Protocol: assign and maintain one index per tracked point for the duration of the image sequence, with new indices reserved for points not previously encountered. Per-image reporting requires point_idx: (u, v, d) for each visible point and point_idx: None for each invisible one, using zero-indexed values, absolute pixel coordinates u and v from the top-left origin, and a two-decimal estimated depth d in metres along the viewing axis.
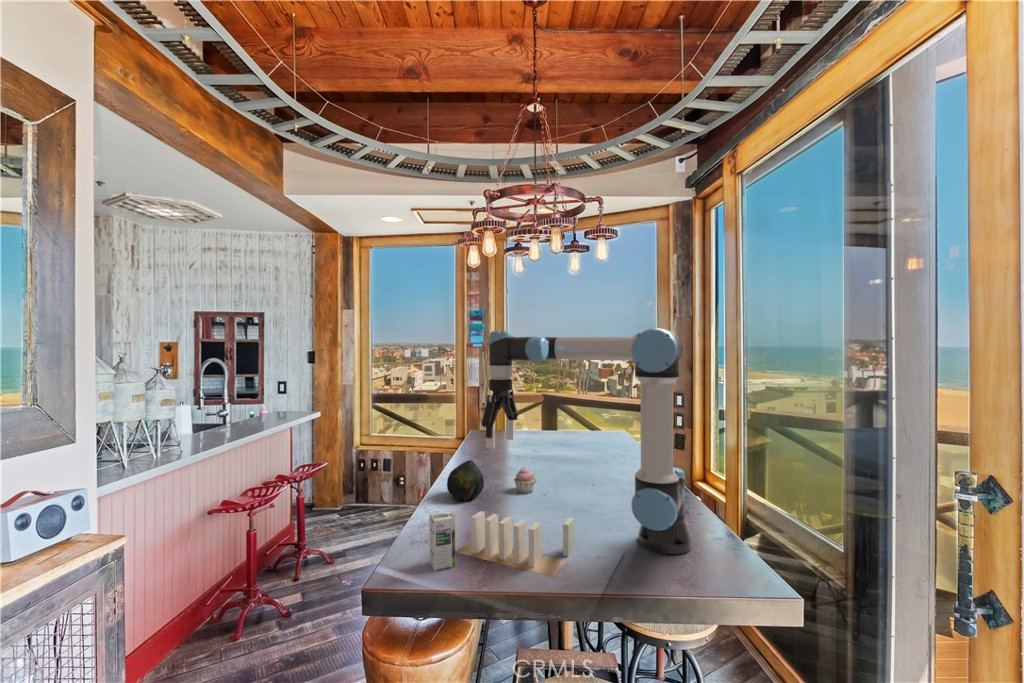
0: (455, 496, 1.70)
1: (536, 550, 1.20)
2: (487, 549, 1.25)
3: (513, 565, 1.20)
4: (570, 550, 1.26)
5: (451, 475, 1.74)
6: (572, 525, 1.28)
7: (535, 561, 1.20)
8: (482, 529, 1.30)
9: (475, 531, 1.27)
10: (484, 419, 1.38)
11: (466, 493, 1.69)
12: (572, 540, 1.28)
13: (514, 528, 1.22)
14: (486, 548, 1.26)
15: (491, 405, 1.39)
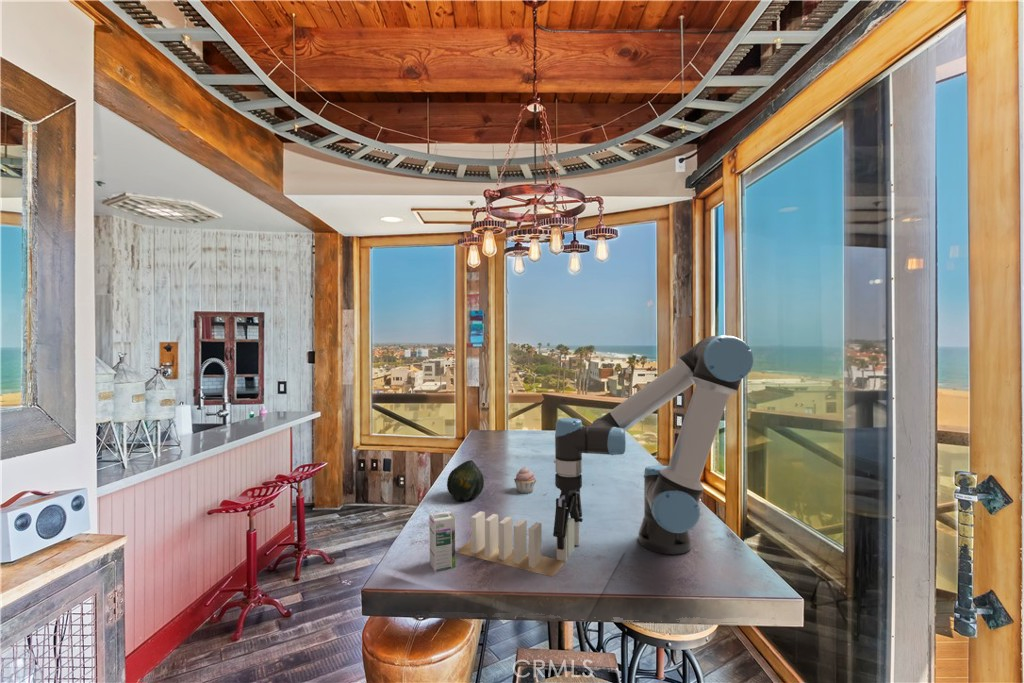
0: (455, 496, 1.70)
1: (536, 550, 1.20)
2: (487, 549, 1.25)
3: (513, 565, 1.20)
4: (570, 550, 1.26)
5: (451, 475, 1.74)
6: (572, 525, 1.28)
7: (535, 561, 1.20)
8: (482, 529, 1.30)
9: (475, 531, 1.27)
10: (556, 529, 1.20)
11: (466, 493, 1.69)
12: (572, 540, 1.28)
13: (514, 528, 1.22)
14: (486, 548, 1.26)
15: (562, 512, 1.21)
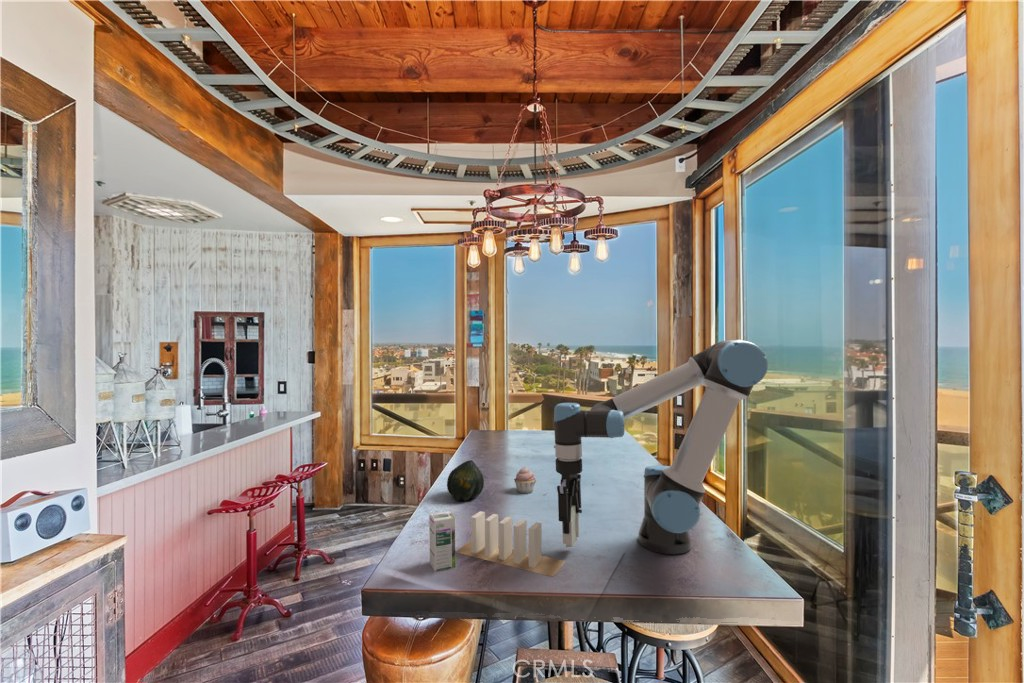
0: (455, 496, 1.70)
1: (536, 550, 1.20)
2: (487, 549, 1.25)
3: (513, 565, 1.20)
4: None
5: (451, 475, 1.74)
6: (573, 511, 1.28)
7: (535, 561, 1.20)
8: (482, 529, 1.30)
9: (475, 531, 1.27)
10: (560, 515, 1.22)
11: (466, 493, 1.69)
12: (574, 527, 1.28)
13: (514, 528, 1.22)
14: (486, 548, 1.26)
15: (564, 498, 1.22)
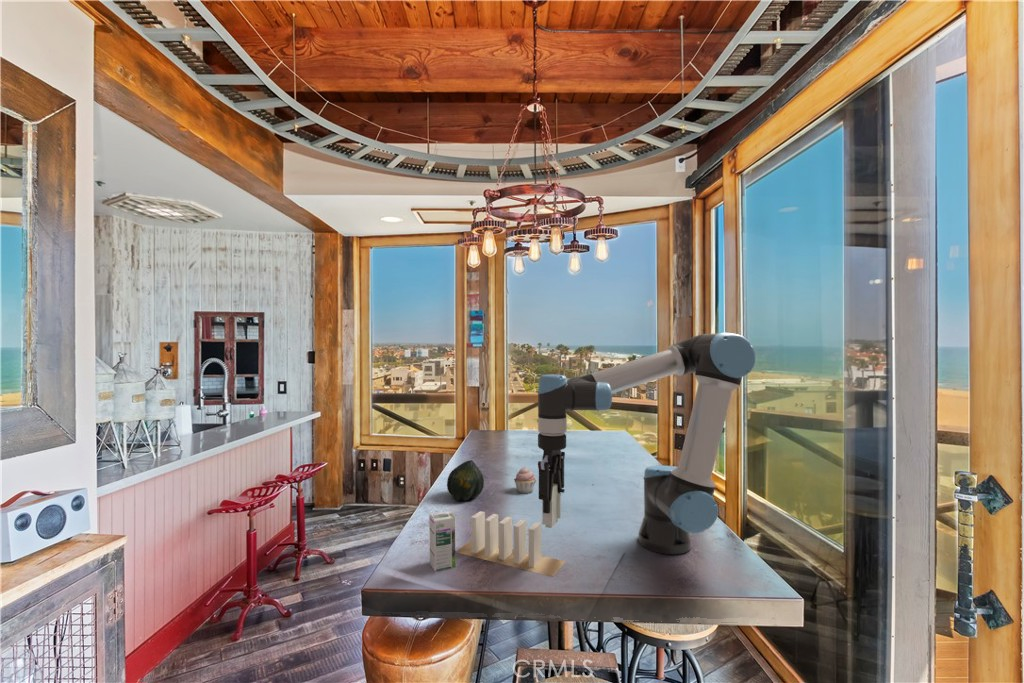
0: (455, 496, 1.70)
1: (536, 550, 1.20)
2: (487, 549, 1.25)
3: (513, 565, 1.20)
4: (553, 517, 1.18)
5: (451, 475, 1.74)
6: (555, 490, 1.20)
7: (535, 561, 1.20)
8: (482, 529, 1.30)
9: (475, 531, 1.27)
10: (540, 492, 1.14)
11: (466, 493, 1.69)
12: (555, 507, 1.20)
13: (514, 528, 1.22)
14: (486, 548, 1.26)
15: (545, 475, 1.14)
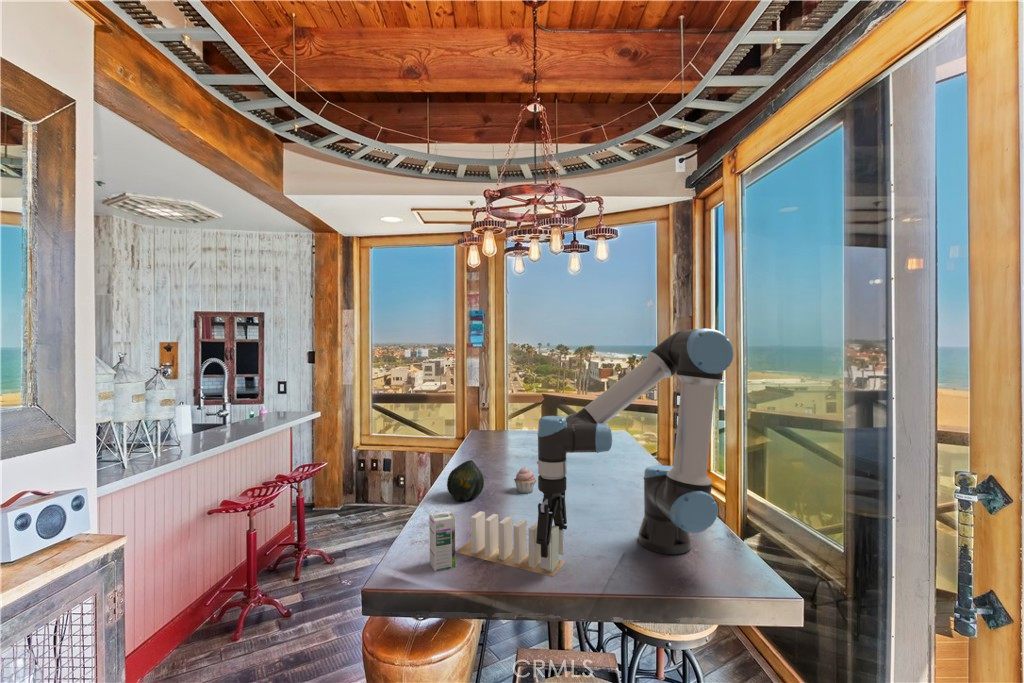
0: (455, 496, 1.70)
1: (536, 550, 1.20)
2: (487, 549, 1.25)
3: (513, 565, 1.20)
4: (553, 561, 1.18)
5: (451, 475, 1.74)
6: (556, 533, 1.20)
7: (535, 561, 1.20)
8: (482, 529, 1.30)
9: (475, 531, 1.27)
10: (539, 536, 1.13)
11: (466, 493, 1.69)
12: (556, 550, 1.20)
13: (514, 528, 1.22)
14: (486, 548, 1.26)
15: (545, 518, 1.13)
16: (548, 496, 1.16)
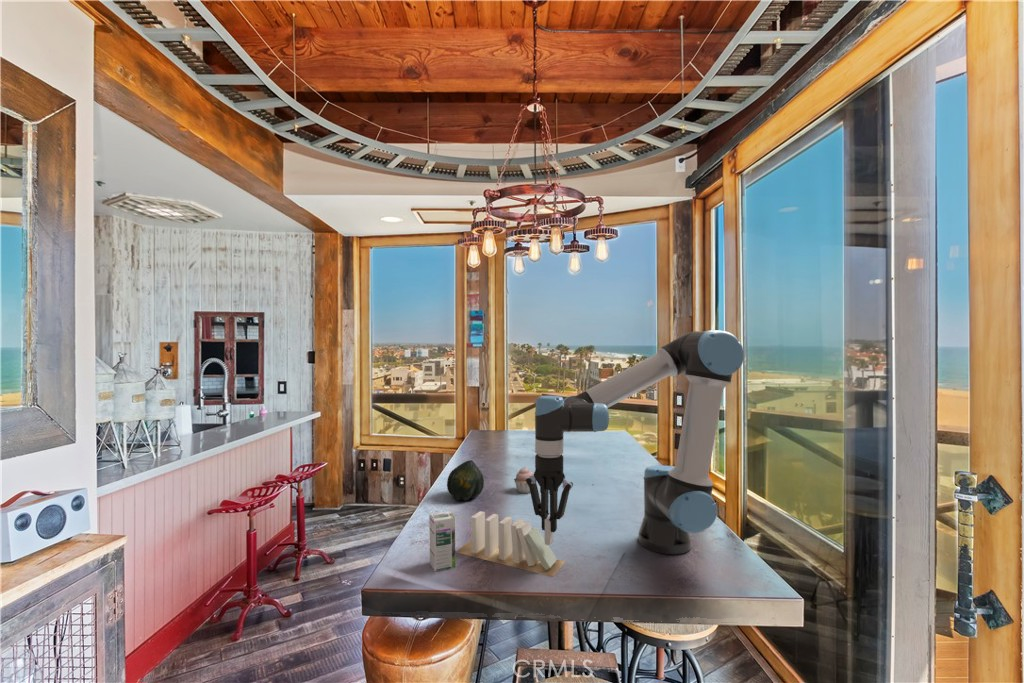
0: (455, 496, 1.70)
1: (530, 547, 1.21)
2: (487, 549, 1.25)
3: (513, 565, 1.20)
4: (547, 557, 1.19)
5: (451, 475, 1.74)
6: (535, 532, 1.22)
7: (533, 559, 1.20)
8: (482, 529, 1.30)
9: (475, 531, 1.27)
10: None
11: (466, 493, 1.69)
12: (546, 547, 1.21)
13: (511, 527, 1.22)
14: (486, 548, 1.26)
15: None
16: None
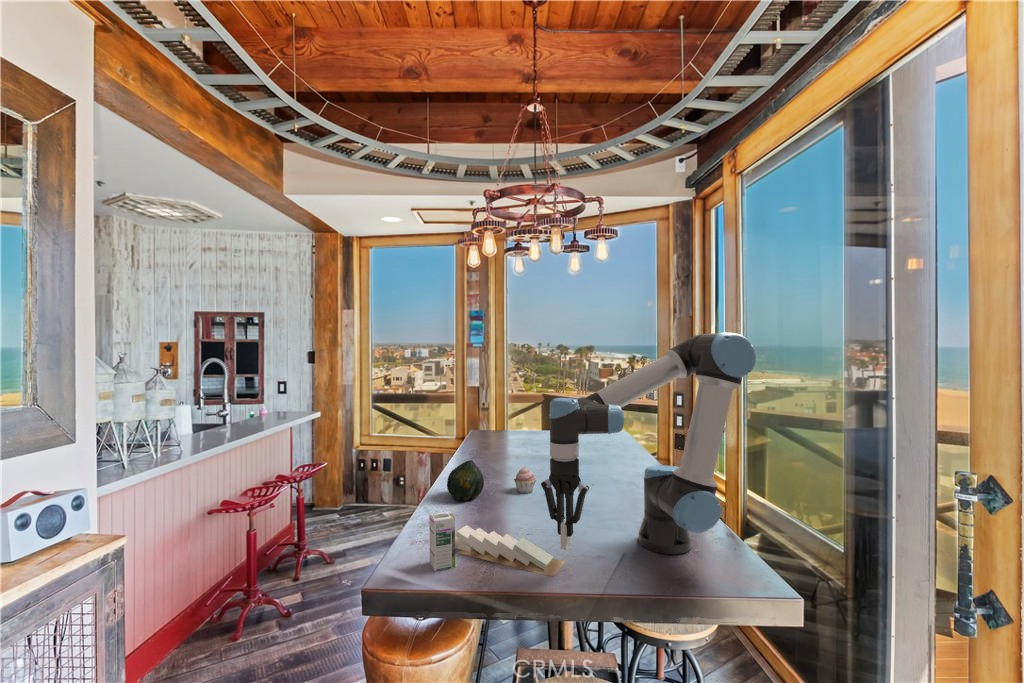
0: (455, 496, 1.70)
1: None
2: (479, 549, 1.27)
3: (513, 565, 1.20)
4: (541, 558, 1.20)
5: (451, 475, 1.74)
6: (523, 542, 1.24)
7: None
8: None
9: None
10: None
11: (466, 493, 1.69)
12: (538, 550, 1.22)
13: (484, 542, 1.26)
14: (477, 549, 1.27)
15: None
16: None
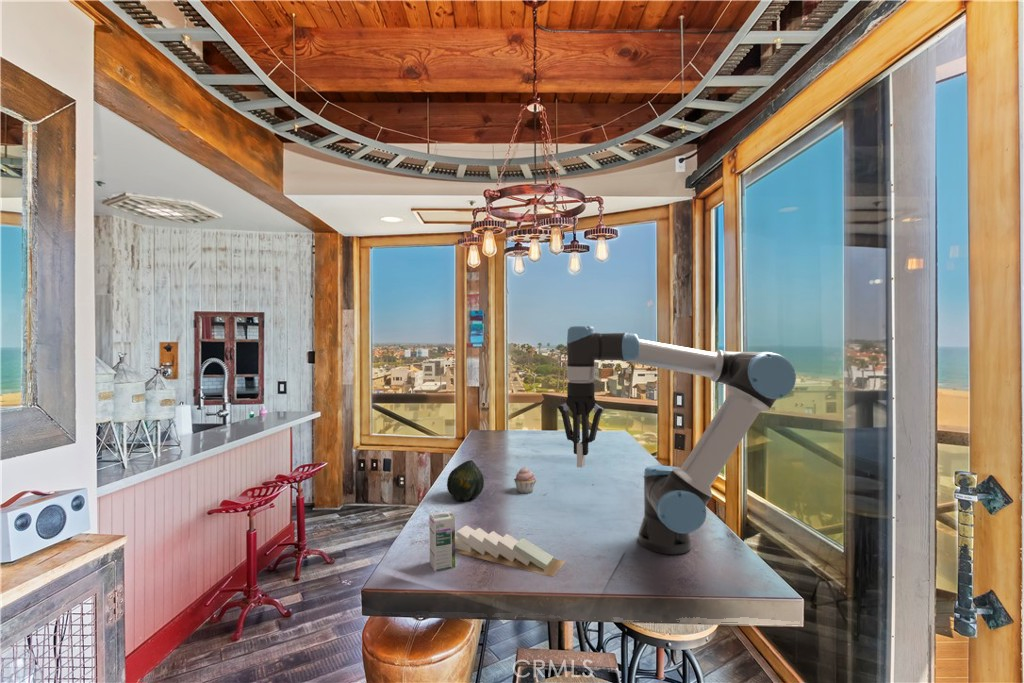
0: (455, 496, 1.70)
1: None
2: (479, 549, 1.27)
3: (513, 565, 1.20)
4: (541, 558, 1.20)
5: (451, 475, 1.74)
6: (523, 542, 1.24)
7: None
8: None
9: None
10: None
11: (466, 493, 1.69)
12: (538, 550, 1.22)
13: (484, 542, 1.26)
14: (477, 549, 1.27)
15: None
16: None
